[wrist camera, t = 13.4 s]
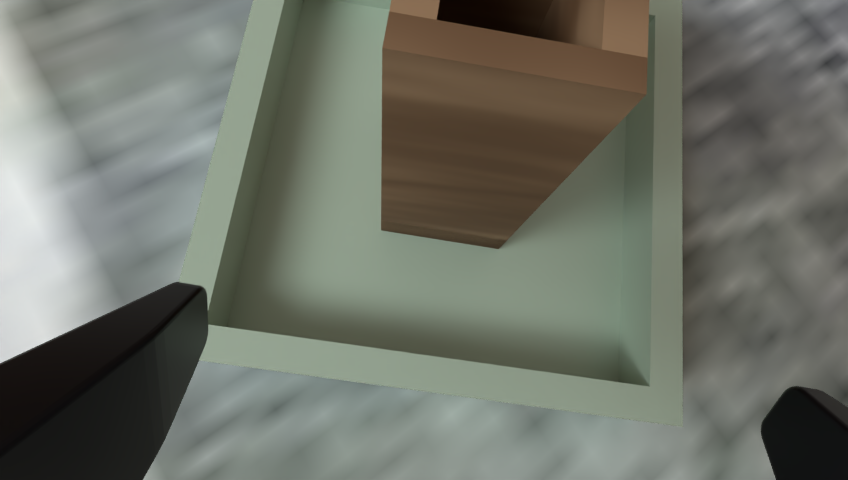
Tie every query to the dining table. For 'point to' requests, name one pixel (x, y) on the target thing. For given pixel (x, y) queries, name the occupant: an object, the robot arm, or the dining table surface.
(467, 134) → the walnut crate
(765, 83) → the dining table surface
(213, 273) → the green square tray
